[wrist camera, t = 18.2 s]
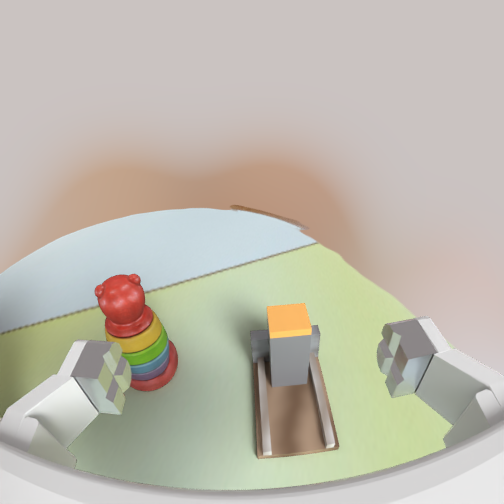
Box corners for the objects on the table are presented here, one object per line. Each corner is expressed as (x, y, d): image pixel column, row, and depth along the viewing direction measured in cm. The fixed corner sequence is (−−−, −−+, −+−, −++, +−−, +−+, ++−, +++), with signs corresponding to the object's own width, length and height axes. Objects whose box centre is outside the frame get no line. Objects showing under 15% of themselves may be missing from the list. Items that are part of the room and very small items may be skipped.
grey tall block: (271, 387, 40) (269, 332, 35) (269, 361, 44) (266, 306, 39) (306, 383, 40) (311, 328, 35) (301, 358, 44) (304, 303, 39)
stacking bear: (172, 340, 51) (147, 252, 43) (188, 381, 43) (159, 286, 34) (116, 357, 47) (79, 271, 39) (124, 400, 39) (75, 310, 31)
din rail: (257, 458, 31) (254, 439, 28) (253, 357, 47) (250, 331, 44) (338, 449, 31) (346, 428, 28) (315, 352, 47) (317, 324, 44)
